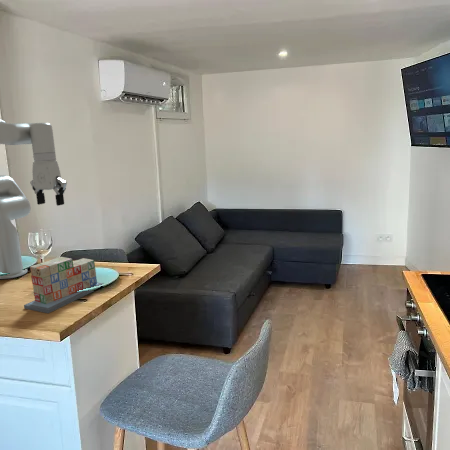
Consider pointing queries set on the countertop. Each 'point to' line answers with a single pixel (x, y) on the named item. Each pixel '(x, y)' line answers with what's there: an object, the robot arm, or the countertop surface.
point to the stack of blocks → (61, 278)
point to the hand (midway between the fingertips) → (50, 204)
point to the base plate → (57, 302)
